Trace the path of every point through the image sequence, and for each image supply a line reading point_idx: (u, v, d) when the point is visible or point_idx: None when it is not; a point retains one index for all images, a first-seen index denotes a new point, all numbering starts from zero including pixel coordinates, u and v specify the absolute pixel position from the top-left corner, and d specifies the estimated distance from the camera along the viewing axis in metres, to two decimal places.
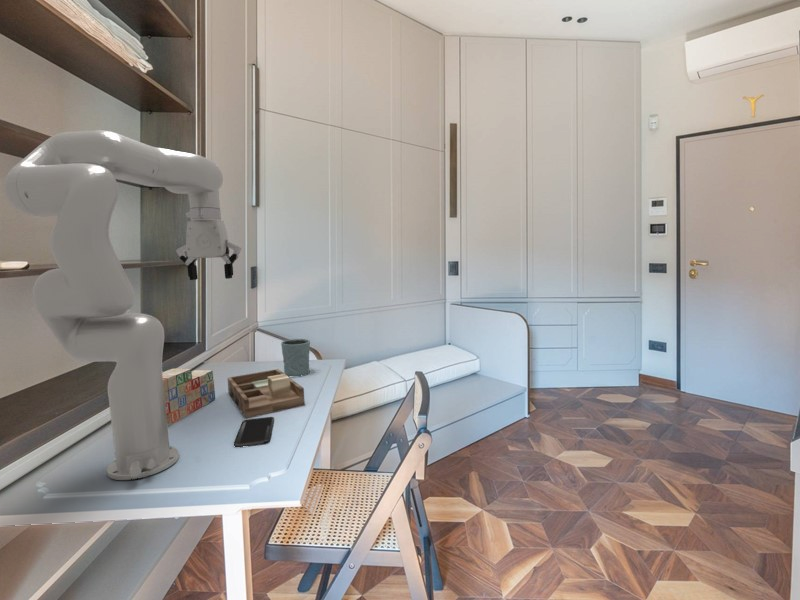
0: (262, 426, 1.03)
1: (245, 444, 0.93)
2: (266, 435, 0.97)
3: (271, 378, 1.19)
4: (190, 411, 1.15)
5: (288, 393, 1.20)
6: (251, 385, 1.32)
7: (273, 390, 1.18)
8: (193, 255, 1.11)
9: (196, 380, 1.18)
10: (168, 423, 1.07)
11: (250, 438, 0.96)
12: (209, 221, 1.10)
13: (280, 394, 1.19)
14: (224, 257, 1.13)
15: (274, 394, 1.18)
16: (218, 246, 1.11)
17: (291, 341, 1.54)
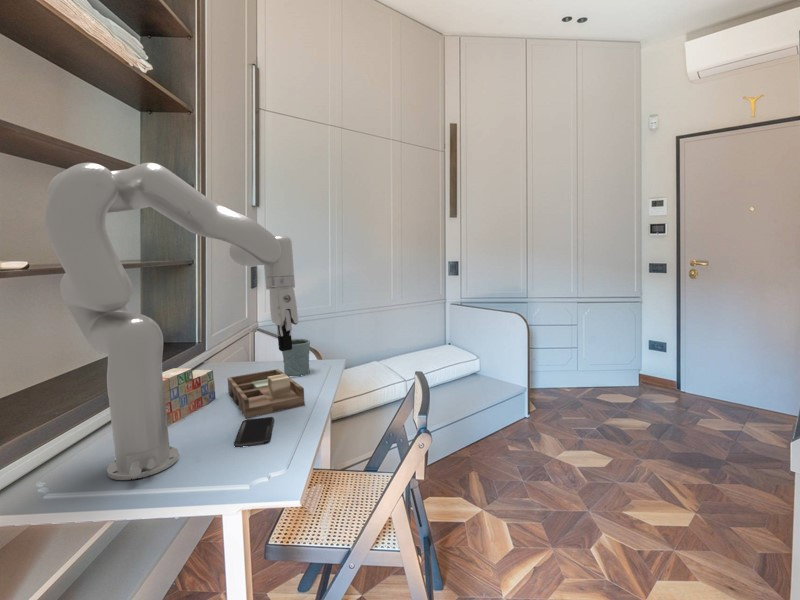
0: (262, 426, 1.03)
1: (245, 444, 0.93)
2: (266, 435, 0.97)
3: (271, 378, 1.19)
4: (191, 411, 1.16)
5: (288, 393, 1.20)
6: (251, 385, 1.32)
7: (273, 390, 1.18)
8: None
9: (197, 380, 1.18)
10: (170, 422, 1.07)
11: (250, 438, 0.96)
12: None
13: (280, 394, 1.19)
14: None
15: (274, 394, 1.18)
16: None
17: None
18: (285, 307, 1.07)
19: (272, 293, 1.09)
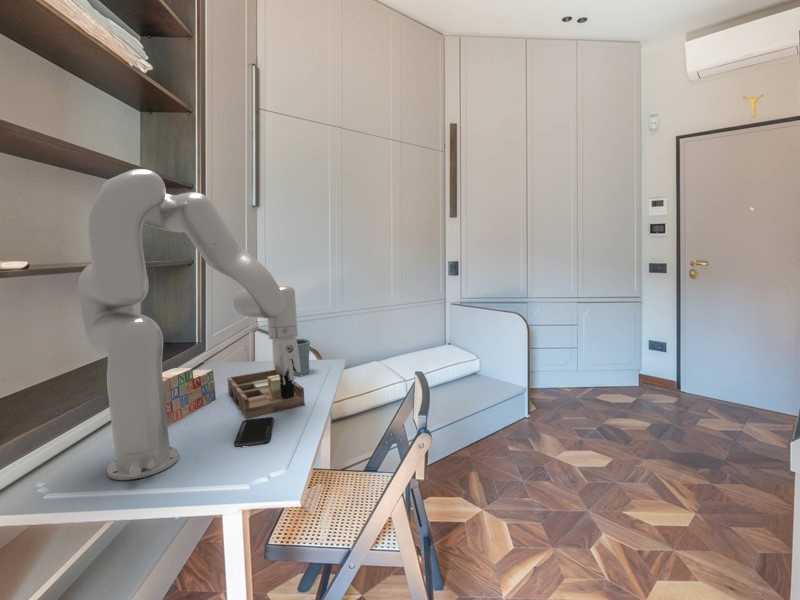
0: (262, 426, 1.03)
1: (245, 444, 0.93)
2: (266, 435, 0.97)
3: (271, 378, 1.19)
4: (191, 410, 1.16)
5: None
6: (251, 385, 1.32)
7: (273, 390, 1.18)
8: None
9: (197, 379, 1.19)
10: (170, 422, 1.08)
11: (250, 438, 0.96)
12: None
13: (280, 394, 1.19)
14: None
15: (274, 394, 1.18)
16: None
17: None
18: (288, 357, 1.09)
19: (275, 342, 1.11)
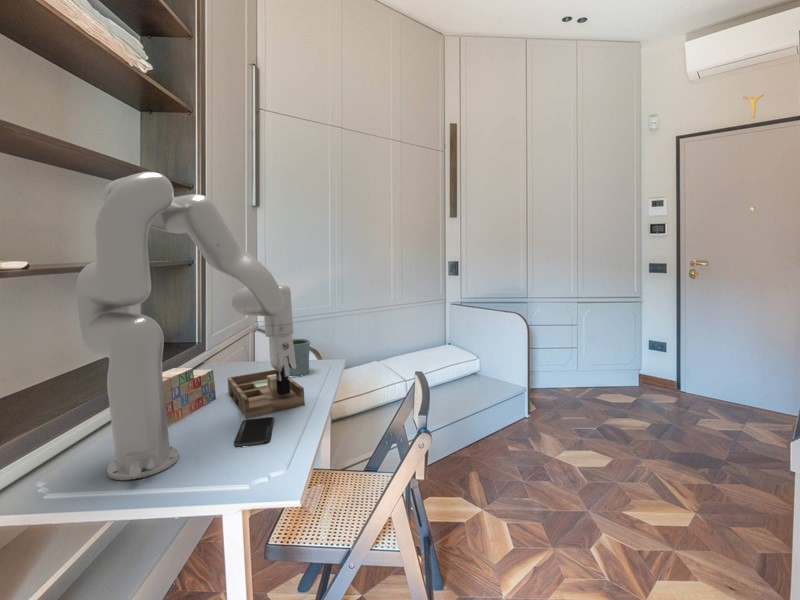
0: (262, 426, 1.03)
1: (245, 444, 0.93)
2: (266, 435, 0.97)
3: (270, 377, 1.20)
4: (192, 410, 1.16)
5: None
6: (251, 385, 1.32)
7: (272, 389, 1.19)
8: None
9: (197, 379, 1.19)
10: (171, 422, 1.08)
11: (250, 438, 0.96)
12: None
13: None
14: None
15: (273, 393, 1.19)
16: None
17: None
18: (284, 354, 1.12)
19: (271, 340, 1.14)
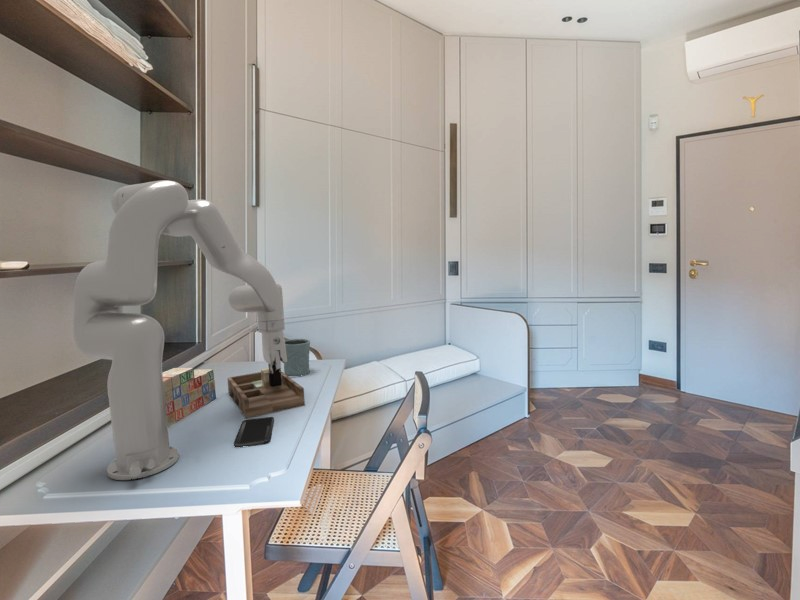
0: (262, 426, 1.03)
1: (245, 444, 0.93)
2: (266, 435, 0.97)
3: (264, 371, 1.28)
4: (193, 410, 1.16)
5: None
6: (251, 385, 1.32)
7: (265, 382, 1.26)
8: None
9: (198, 379, 1.19)
10: (172, 421, 1.08)
11: (250, 438, 0.96)
12: None
13: None
14: None
15: (266, 385, 1.26)
16: None
17: (291, 341, 1.54)
18: (275, 348, 1.19)
19: (264, 335, 1.22)
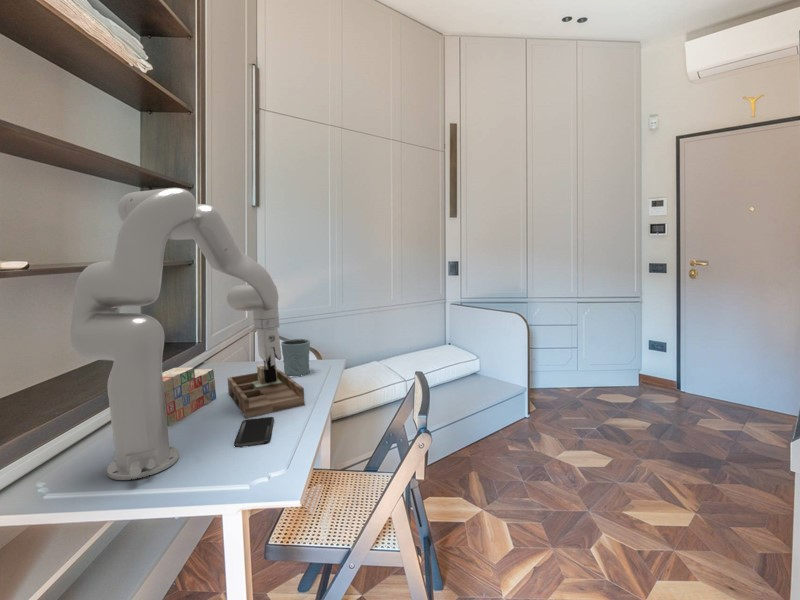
0: (262, 426, 1.03)
1: (245, 444, 0.93)
2: (266, 435, 0.97)
3: (260, 367, 1.33)
4: (193, 409, 1.17)
5: None
6: (251, 385, 1.32)
7: (261, 377, 1.31)
8: None
9: (198, 379, 1.19)
10: (173, 421, 1.08)
11: (250, 438, 0.96)
12: None
13: None
14: None
15: (262, 381, 1.31)
16: None
17: (291, 341, 1.54)
18: (270, 345, 1.24)
19: (259, 333, 1.26)
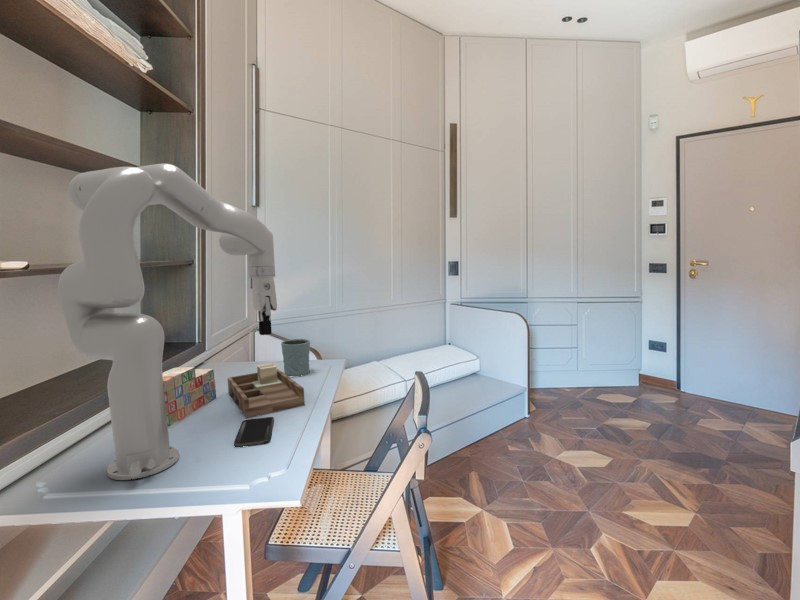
0: (262, 426, 1.03)
1: (245, 444, 0.93)
2: (266, 435, 0.97)
3: (260, 367, 1.33)
4: (194, 409, 1.17)
5: (275, 380, 1.33)
6: (251, 385, 1.32)
7: (261, 377, 1.31)
8: None
9: (199, 378, 1.20)
10: (175, 421, 1.09)
11: (250, 438, 0.96)
12: None
13: (268, 381, 1.32)
14: None
15: (262, 381, 1.31)
16: None
17: (291, 341, 1.54)
18: (265, 294, 1.18)
19: (254, 281, 1.20)
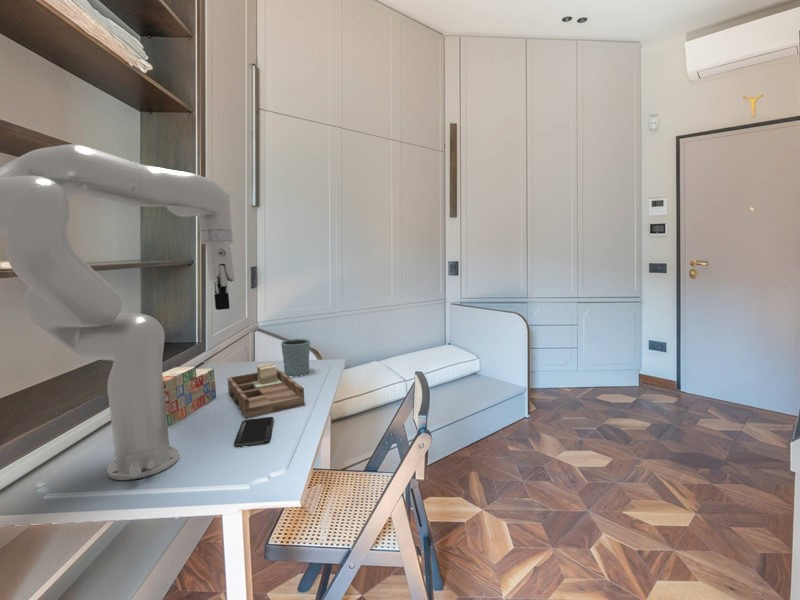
0: (262, 426, 1.03)
1: (245, 444, 0.93)
2: (266, 435, 0.97)
3: (260, 367, 1.33)
4: (195, 408, 1.17)
5: (275, 380, 1.33)
6: (251, 385, 1.32)
7: (261, 377, 1.31)
8: None
9: (200, 378, 1.20)
10: (176, 420, 1.09)
11: (250, 438, 0.96)
12: None
13: (268, 381, 1.32)
14: None
15: (262, 381, 1.31)
16: None
17: (291, 341, 1.54)
18: (220, 261, 1.03)
19: (207, 248, 1.05)
